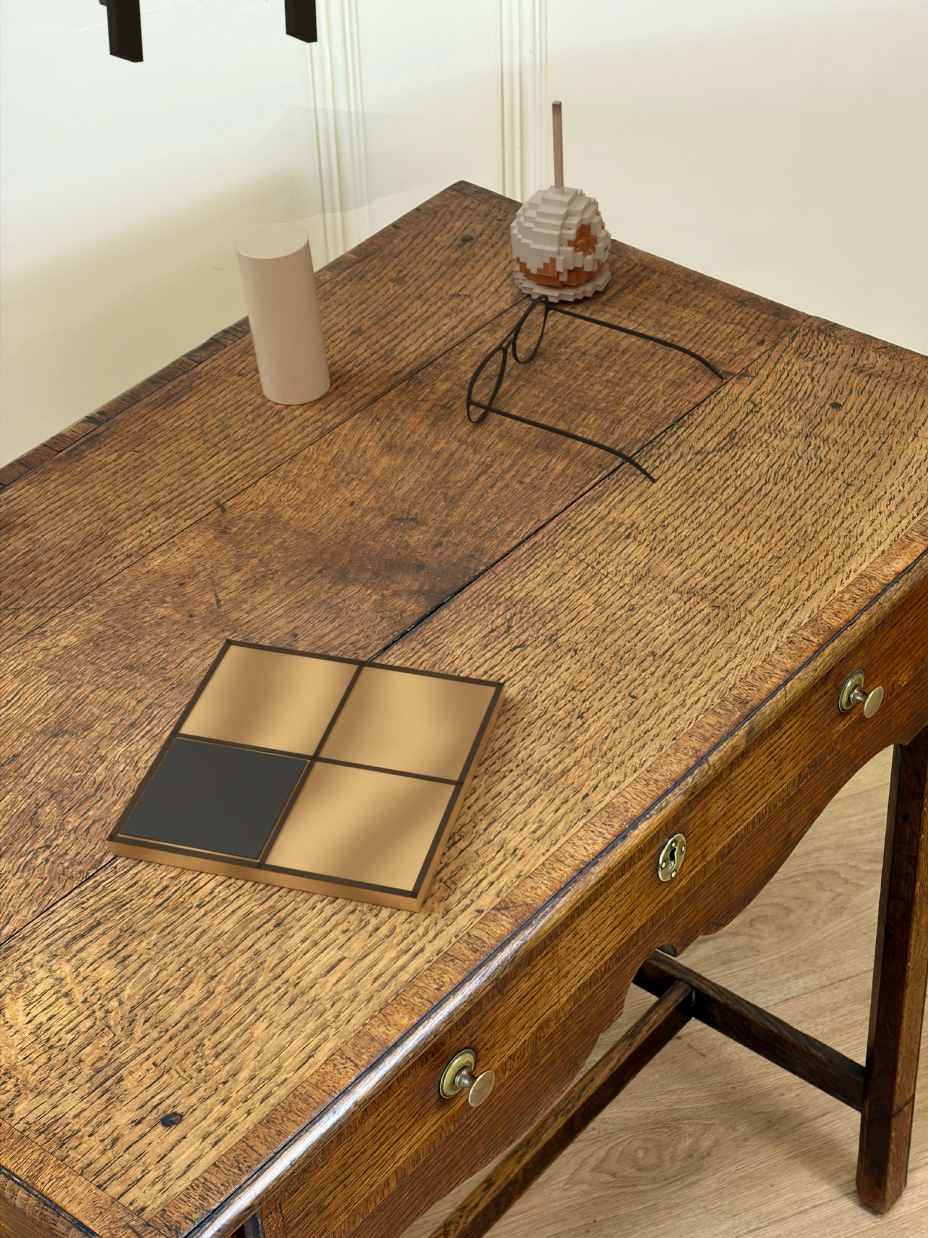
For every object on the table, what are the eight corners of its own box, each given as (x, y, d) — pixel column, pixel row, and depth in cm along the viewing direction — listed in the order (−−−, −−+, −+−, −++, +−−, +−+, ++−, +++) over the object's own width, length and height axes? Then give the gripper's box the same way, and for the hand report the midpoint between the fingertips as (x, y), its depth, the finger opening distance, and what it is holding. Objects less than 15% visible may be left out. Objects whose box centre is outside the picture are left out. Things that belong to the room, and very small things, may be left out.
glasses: (543, 339, 124) (547, 283, 121) (720, 397, 121) (730, 341, 117) (462, 437, 115) (464, 380, 112) (651, 502, 112) (660, 445, 108)
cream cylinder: (251, 400, 119) (223, 253, 111) (277, 364, 123) (251, 218, 114) (316, 409, 118) (292, 261, 110) (340, 371, 122) (318, 225, 113)
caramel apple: (589, 314, 127) (587, 131, 116) (500, 298, 129) (489, 117, 118) (622, 267, 132) (622, 88, 121) (535, 253, 134) (528, 75, 123)
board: (111, 854, 88) (105, 839, 87) (230, 654, 100) (226, 638, 99) (418, 913, 85) (416, 897, 84) (505, 698, 96) (504, 682, 95)
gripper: (395, -321, 99) (406, 41, 104) (69, -255, 108) (93, 76, 113) (335, -375, 93) (351, 15, 97) (-7, -300, 102) (21, 55, 106)
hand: (212, 49), depth 105 cm, fingers open, 13 cm apart
